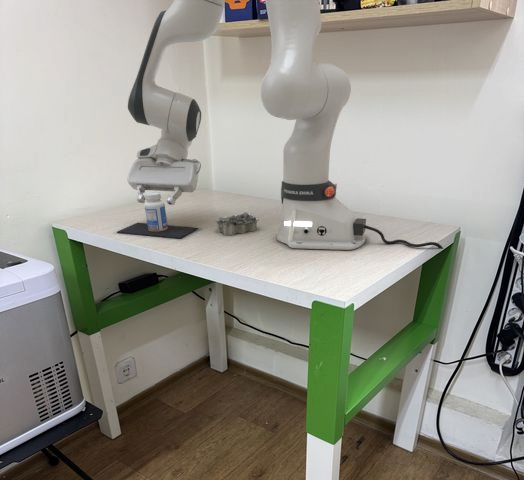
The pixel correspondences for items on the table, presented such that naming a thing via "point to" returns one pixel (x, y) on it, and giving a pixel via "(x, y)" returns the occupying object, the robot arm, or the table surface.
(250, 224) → the egg carton
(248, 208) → the table surface
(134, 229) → the mat
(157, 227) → the pill bottle
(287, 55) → the robot arm
